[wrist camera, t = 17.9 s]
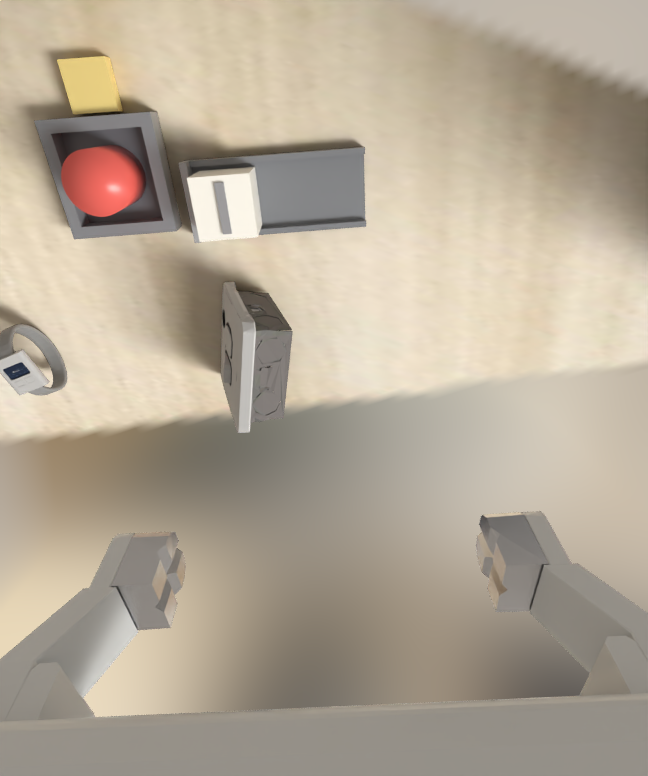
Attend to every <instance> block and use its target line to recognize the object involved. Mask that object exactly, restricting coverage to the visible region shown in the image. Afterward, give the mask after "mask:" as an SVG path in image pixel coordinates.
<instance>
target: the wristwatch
mask: <svg viewBox="0 0 648 776" xmlns="http://www.w3.org/2000/svg"><path fill="white" fill-rule="evenodd" d="M14 333H18V334H21V335H23V336H25V337H27V338H28V339H30V340H31V341H32V342H34V343H35V344H36V345H37V346H38V347H39V349H40V350H41V351H42V353H43V354H44V356H45V357H46V359H47V361H48V363H49V365H50V367H51V370H52V373H53V385H52V387H51V388H49V387H45V385H46V384H48V383H49V380H48V379H47V378H46V377H45V376H44V374H43V373H42V372H41V371H40V369H39V368H38V367H37V366H36V365H35V363H34V362H33V361H32V360H31V358H30V357H29V356H28V355H27V354H26V352H25V351H24V350H23V349H21V350H19V351H17V352H16V351H15V352H14V349H13V336H14ZM0 374H1V375H2V376H3V377H4V378H5V379H6V380H7V382H8V383H9V384H10V385H11V386H12V387H13V388H14V390H15V391H16V392H17V393H18V394H19V395H22V394H24V393H27V392H29V393H31V394H34V395H48V394H50V393H53V392H55V391H58V390H61V389H62V388H63V387H64V386H65V385H66V383H67V371H66V367H65V364H64V362H63V359H62V357H61V355H60V353H59V352H58V350H57V348H56V347H55V346H54V344H53V343H52V342H51V341H50V339H49V338H48V337H47V336H45V335H44V334H43V333H42V332H40V331H39V330H37V329H36V328H34V327H32V326H29V325H26V324H16V325H14V326H12V327H9V328H7V329H5V330H3V331H2V332H1V334H0Z"/></svg>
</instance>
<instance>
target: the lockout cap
mask: <svg viewBox="0 0 648 776" xmlns="http://www.w3.org/2000/svg"><path fill="white" fill-rule="evenodd" d="M61 180H62V185H63V188H64V190H65V192H66V194H67V196H68V197H69V199H70V200H71V201H72V203H73V204H74V205H75V206H76V207H78V208H79V209H80V210H82V211H83V212H85V213H87V214H90V215H93V216H98V217H106V216H110V215H113V214H115V213H117V212H118V211H120V210H122V209H124V208H126V207H128V206H129V205H131V204H133V203H135V202H136V201H138V200H139V199H140V198H141V197H142V195H143V194H144V191H145V188H146V175H145V171H144V169H143V166H142V164H141V163H140V161H139V160H138V159H137V157H136V156H135V155H134V154H133V153H131V152H130V151H129V150H127V149H125V148H123V147H121V146H117V145H106V146H99V147H93V148H87V149H81V150H77V151H75V152H73V153H71V154H70V155H69V156H68V157H67V158H66V160H65V161H64V163H63V166H62V170H61Z"/></svg>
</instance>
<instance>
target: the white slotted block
mask: <svg viewBox="0 0 648 776" xmlns="http://www.w3.org/2000/svg"><path fill="white" fill-rule="evenodd" d="M187 182H188V187H189V192H190V197H191V202H192V207H193V211H194V216H195V221H196V226H197V231H198V236H199V241H200V242H203V241H216V240H228V239H241V238H254V237H258V235H259V232H260V229H261V226H262V217H261V210H260V202H259V194H258V187H257V179H256V171H255V166H253V167H241V168H228V169H215V170H202V171H198V172H197V173H195V174H193V175H191V176H189V177H188V178H187Z"/></svg>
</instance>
